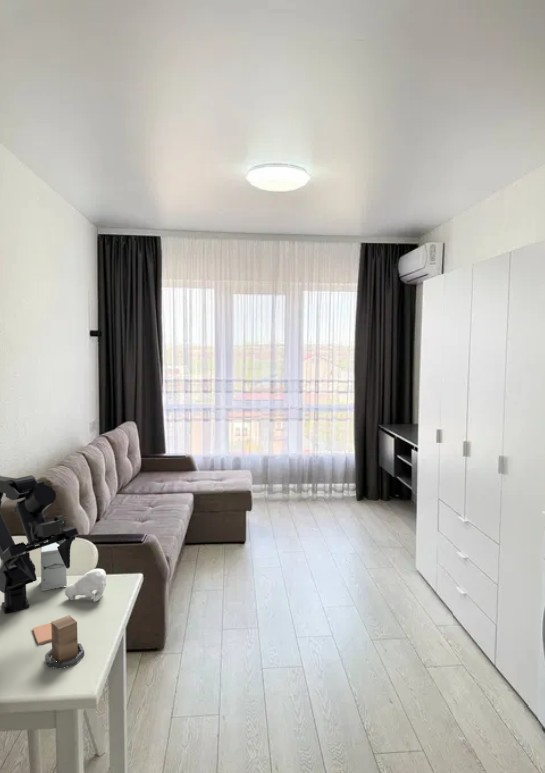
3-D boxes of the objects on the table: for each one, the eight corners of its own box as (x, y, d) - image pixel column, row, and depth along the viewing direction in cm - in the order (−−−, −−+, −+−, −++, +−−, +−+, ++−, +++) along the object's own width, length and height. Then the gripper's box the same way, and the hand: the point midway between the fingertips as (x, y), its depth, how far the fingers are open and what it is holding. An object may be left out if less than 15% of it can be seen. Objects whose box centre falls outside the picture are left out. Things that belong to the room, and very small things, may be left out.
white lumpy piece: (103, 573, 147) (60, 580, 144) (107, 600, 148) (64, 608, 145) (106, 563, 153) (64, 570, 151) (109, 590, 154) (68, 597, 151)
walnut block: (52, 657, 121) (51, 621, 120) (70, 649, 124) (69, 615, 123) (59, 665, 118) (58, 629, 117) (77, 657, 121) (77, 622, 120)
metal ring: (43, 654, 122) (43, 649, 122) (78, 643, 127) (78, 638, 127) (50, 672, 115) (49, 667, 115) (87, 660, 120) (87, 655, 120)
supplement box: (41, 592, 153) (40, 552, 152) (41, 581, 160) (40, 543, 159) (67, 587, 156) (66, 548, 155) (66, 577, 163) (65, 539, 162)
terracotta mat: (32, 630, 132) (32, 627, 132) (64, 620, 137) (64, 618, 137) (38, 645, 126) (38, 642, 126) (71, 634, 130) (71, 632, 130)
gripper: (9, 517, 124) (30, 577, 119) (77, 499, 139) (98, 551, 134) (-7, 534, 129) (12, 591, 125) (60, 515, 144) (79, 565, 140)
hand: (52, 574), depth 131 cm, fingers open, 9 cm apart
